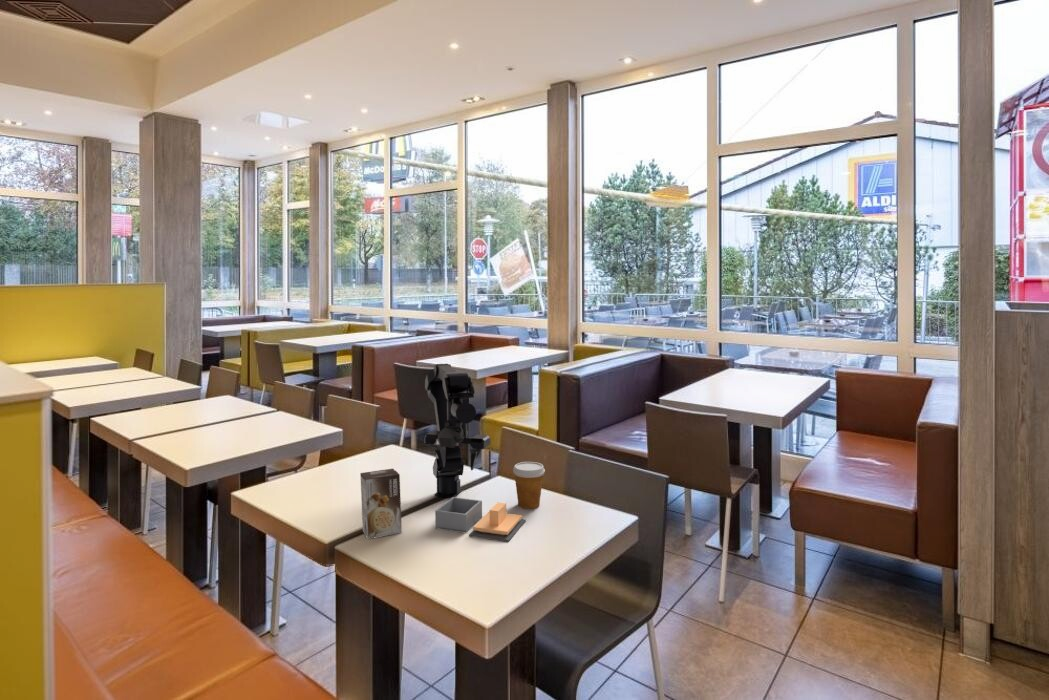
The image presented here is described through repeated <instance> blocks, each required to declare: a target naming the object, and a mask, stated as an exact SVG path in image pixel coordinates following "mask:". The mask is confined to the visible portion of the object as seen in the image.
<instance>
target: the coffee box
mask: <svg viewBox="0 0 1049 700" xmlns="http://www.w3.org/2000/svg"><path fill="white" fill-rule="evenodd" d="M400 477H401V476H400V473H399V472H398V471H397V470H395V469H394V468H388V469H386V468H385V469H380V470H373V471H366V472H360V493H361V495H360V496H361V516H362V517H361V518H362V519H361V520H362V521H361V522H362V532H363V533H364V535H365V537H366V536H367V537H366V538H367V539H368V538H372V539H375V538H374V537H377V538H380V536H382V537H386V536H391V535H395V534H401V533H403V532H402V529H403V528H402V503H401V499H402V498H401V480H400V479H401V478H400Z"/></svg>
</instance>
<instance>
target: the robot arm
mask: <svg viewBox="0 0 1049 700" xmlns="http://www.w3.org/2000/svg"><path fill="white" fill-rule="evenodd" d="M424 388H425V391H427V397H428V399H430V401H431V402H432V403H433V405H434V415H435V421H436V429H437V430H432V431H429V432H428V433H426V434H425V435H424V439H423V440H424V442H423V443H424V444H425V445H428V448H429V447H430V448H432V449H433V450H434V452H435V453H436V455H435V459H434V462H433V465H432V472H433V473H432V474H433V476H434V477H435V478H436V492H435V493H434V496H435V497H436V496H437V497H443V498H444V497H445V498H449V499H451V498H452V497H457V495H459V494H460V493H462V489H461V478H460V476H463V474H464V467H465V466H464V465H465V460H464V457H463V455H462V454H461V448H460V446H459V445H457V444H467V445H470V449H469V452H470V465H469V466H470V471H473V470H474V469H475V467H476V464H477V461H478V460H479V456H480V454H481V452H482V451H483V450H484V449H486V448H487V447H489V446H491V437H490V436H489V435H487V434H475V436H472V437H470V436H469V435H470V431H468V424H470V423H471V422H472V421H474V420H475V419H476V416H477V409H476V407H475V406H474V405H473V404H472V403H470V399H472V398H473V399H474V397H475V388H474V383H473V380H472V378H471V377H470V376H469V374H468V372H464V371H456V369H454V368H453V367H452V365H451V364H450V363H437V364H434V366H433V368H432V369H431V370H430V371H429V372H428V373H427V374H426V377H425V380H424Z"/></svg>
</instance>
